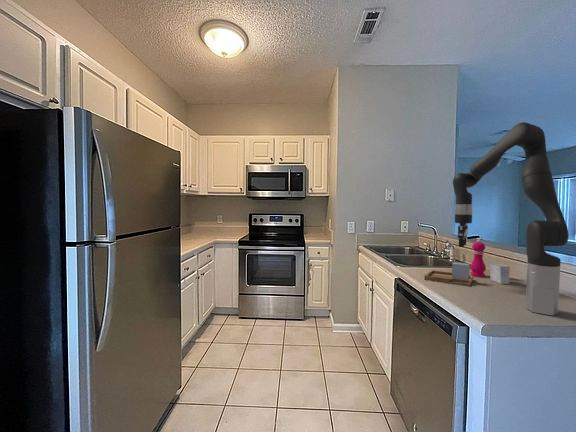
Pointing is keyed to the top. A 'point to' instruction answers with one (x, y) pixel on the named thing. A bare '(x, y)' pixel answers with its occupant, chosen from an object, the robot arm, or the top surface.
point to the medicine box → (500, 273)
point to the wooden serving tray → (447, 278)
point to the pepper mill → (478, 260)
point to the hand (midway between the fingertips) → (462, 245)
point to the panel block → (460, 271)
